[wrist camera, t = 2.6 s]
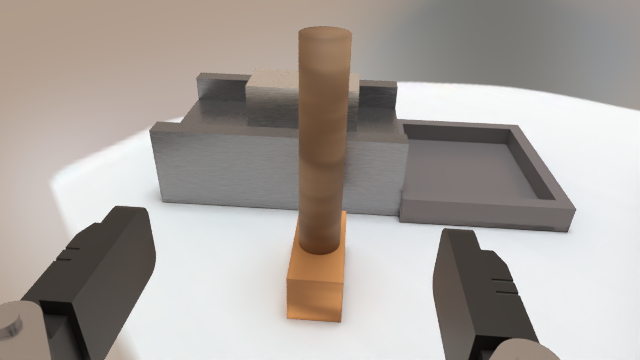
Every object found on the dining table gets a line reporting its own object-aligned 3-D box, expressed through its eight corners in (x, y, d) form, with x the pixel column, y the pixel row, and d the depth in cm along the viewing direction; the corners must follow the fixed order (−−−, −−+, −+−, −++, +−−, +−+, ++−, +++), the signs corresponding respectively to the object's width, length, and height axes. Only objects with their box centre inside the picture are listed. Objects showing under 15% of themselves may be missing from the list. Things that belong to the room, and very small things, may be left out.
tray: (512, 143, 45) (517, 125, 44) (567, 231, 33) (576, 209, 32) (389, 137, 46) (391, 118, 45) (399, 221, 34) (403, 199, 33)
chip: (303, 116, 40) (304, 71, 38) (298, 136, 37) (298, 88, 34) (257, 114, 40) (255, 68, 38) (248, 134, 37) (245, 85, 35)
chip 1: (356, 119, 40) (359, 73, 38) (355, 139, 36) (359, 91, 34) (309, 116, 40) (310, 71, 38) (305, 137, 36) (305, 88, 34)
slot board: (389, 140, 45) (396, 81, 42) (399, 215, 35) (408, 144, 31) (207, 131, 46) (201, 72, 43) (162, 201, 35) (149, 130, 32)
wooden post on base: (343, 247, 31) (358, 18, 24) (340, 322, 26) (358, 55, 18) (299, 244, 32) (300, 15, 24) (287, 318, 26) (281, 51, 18)
